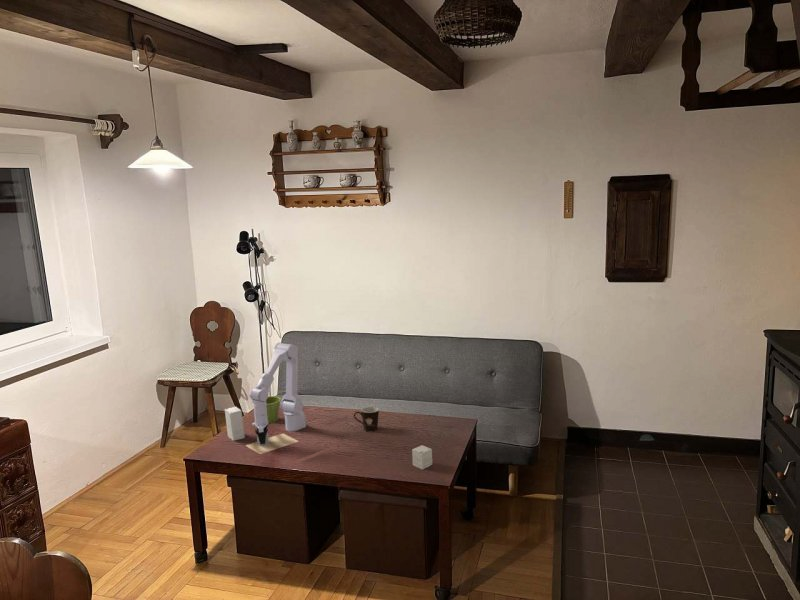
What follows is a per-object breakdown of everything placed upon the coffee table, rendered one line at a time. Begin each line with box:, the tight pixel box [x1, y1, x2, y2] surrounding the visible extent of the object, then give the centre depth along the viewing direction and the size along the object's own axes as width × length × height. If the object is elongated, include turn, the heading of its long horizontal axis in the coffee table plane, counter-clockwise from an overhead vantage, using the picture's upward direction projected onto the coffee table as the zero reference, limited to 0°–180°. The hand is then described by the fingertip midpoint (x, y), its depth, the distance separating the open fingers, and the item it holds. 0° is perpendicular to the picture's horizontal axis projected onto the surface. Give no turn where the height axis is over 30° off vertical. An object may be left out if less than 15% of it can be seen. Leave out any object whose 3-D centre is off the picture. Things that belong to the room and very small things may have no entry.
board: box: [244, 433, 299, 455], centre depth 295 cm, size 20×14×1 cm
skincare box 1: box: [224, 406, 246, 441], centre depth 303 cm, size 8×6×15 cm
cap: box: [256, 431, 270, 446], centre depth 294 cm, size 5×5×5 cm
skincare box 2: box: [411, 444, 433, 470], centre depth 268 cm, size 6×6×7 cm
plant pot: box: [266, 395, 282, 424], centre depth 326 cm, size 12×12×11 cm
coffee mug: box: [353, 406, 380, 432], centre depth 310 cm, size 12×9×10 cm
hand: (262, 441), depth 295 cm, fingers closed on cap, 5 cm apart
